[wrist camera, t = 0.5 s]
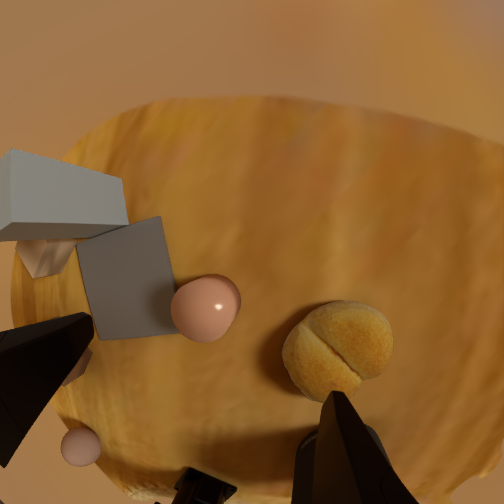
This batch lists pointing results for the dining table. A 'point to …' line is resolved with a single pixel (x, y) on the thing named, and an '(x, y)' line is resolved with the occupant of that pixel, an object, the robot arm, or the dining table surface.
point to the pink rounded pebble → (205, 307)
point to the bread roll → (337, 349)
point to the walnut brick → (78, 366)
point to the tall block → (56, 199)
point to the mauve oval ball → (80, 447)
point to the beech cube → (45, 255)
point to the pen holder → (312, 467)
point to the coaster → (129, 281)
